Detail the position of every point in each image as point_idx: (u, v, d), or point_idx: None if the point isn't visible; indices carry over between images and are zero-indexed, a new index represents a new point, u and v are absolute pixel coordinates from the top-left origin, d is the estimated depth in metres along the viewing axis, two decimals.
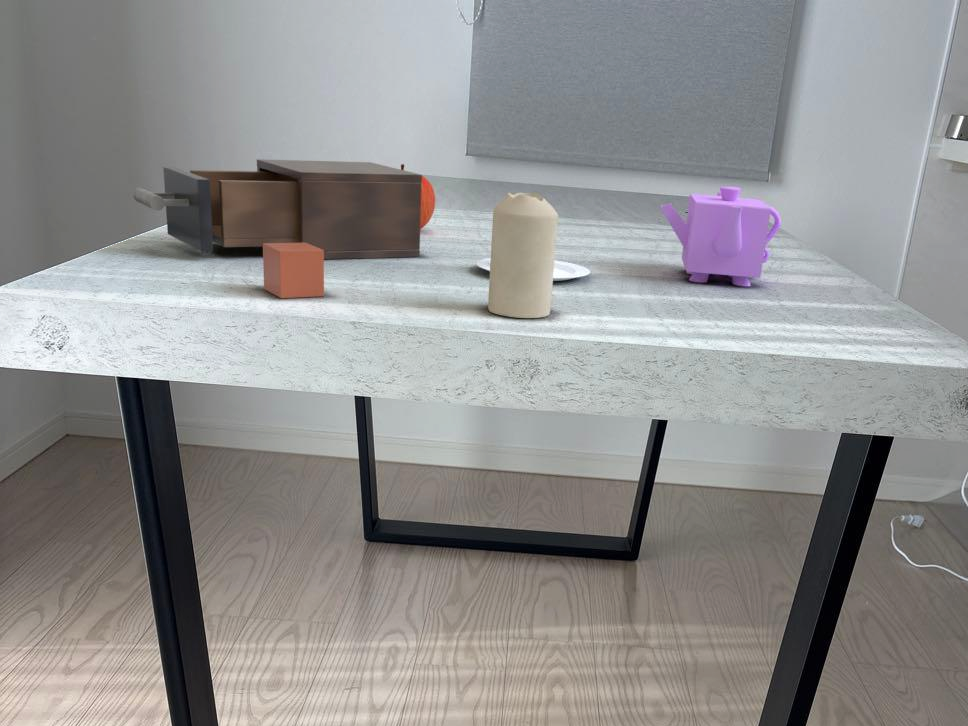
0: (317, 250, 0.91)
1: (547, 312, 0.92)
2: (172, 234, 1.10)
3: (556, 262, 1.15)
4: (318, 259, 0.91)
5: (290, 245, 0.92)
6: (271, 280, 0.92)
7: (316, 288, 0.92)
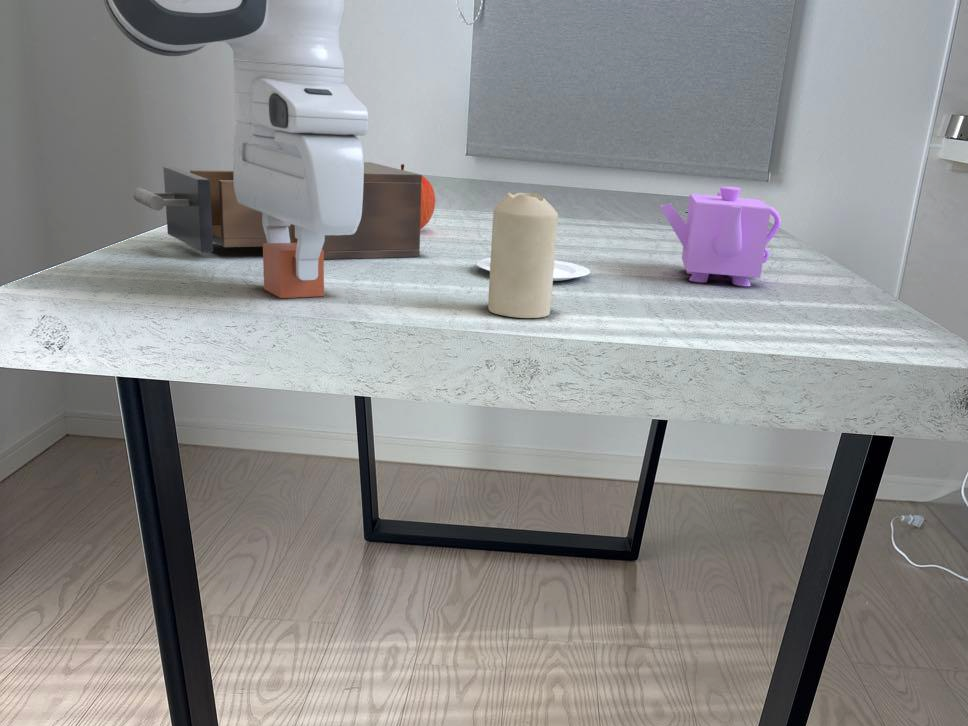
0: None
1: (547, 312, 0.92)
2: (172, 234, 1.10)
3: (556, 262, 1.15)
4: (318, 259, 0.91)
5: (290, 245, 0.92)
6: (271, 280, 0.92)
7: (316, 288, 0.92)
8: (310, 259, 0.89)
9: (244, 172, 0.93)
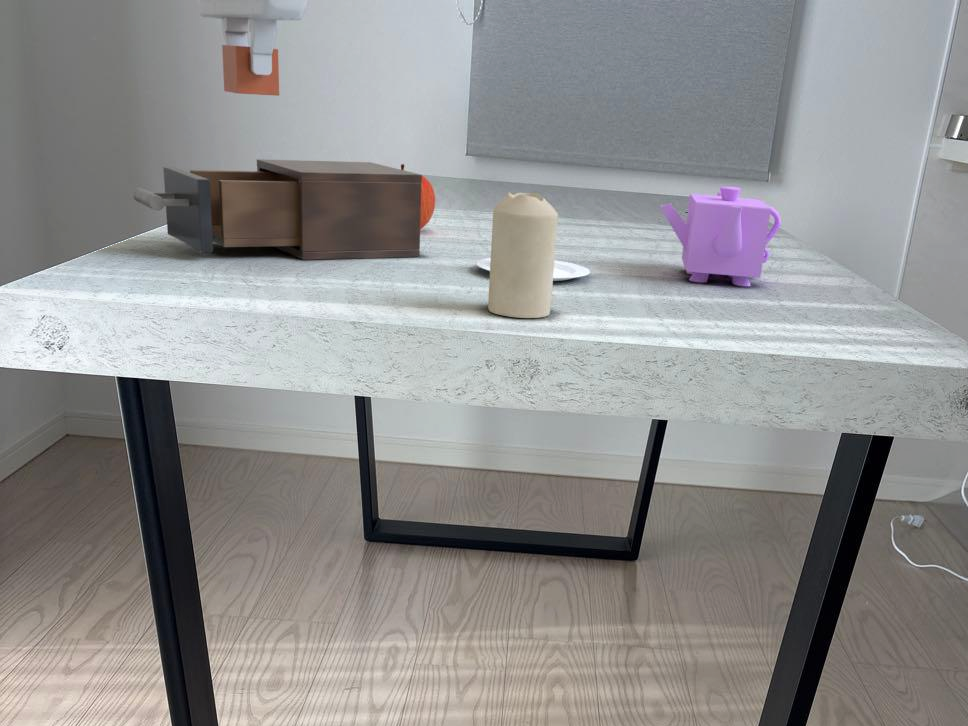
0: None
1: (547, 312, 0.92)
2: (172, 234, 1.10)
3: (556, 262, 1.15)
4: (273, 58, 0.98)
5: None
6: (230, 78, 0.99)
7: (271, 87, 0.99)
8: (264, 54, 0.96)
9: None
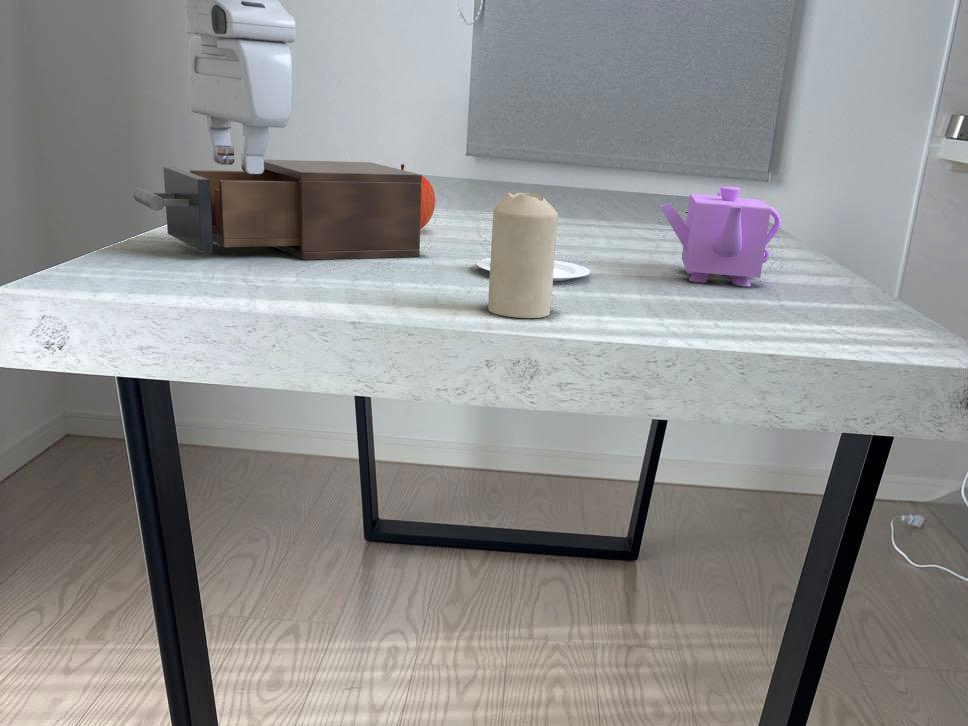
0: None
1: (547, 312, 0.92)
2: (172, 234, 1.10)
3: (556, 262, 1.15)
4: None
5: None
6: None
7: None
8: (256, 155, 1.04)
9: (196, 82, 1.09)
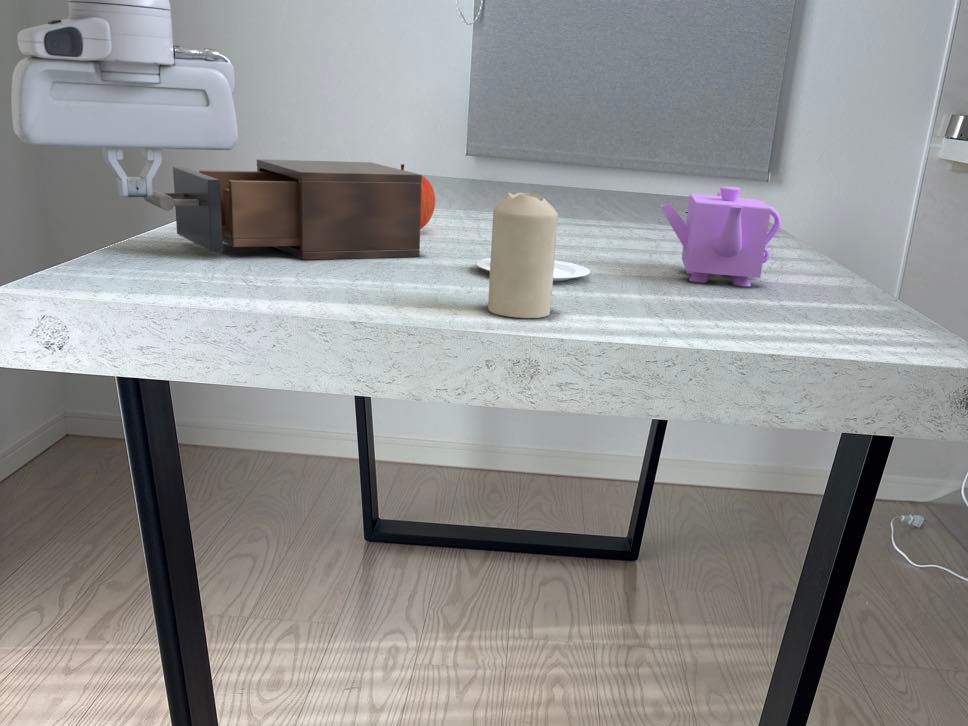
0: None
1: (547, 312, 0.92)
2: (181, 234, 1.11)
3: (556, 262, 1.15)
4: None
5: None
6: None
7: None
8: (118, 178, 1.02)
9: None
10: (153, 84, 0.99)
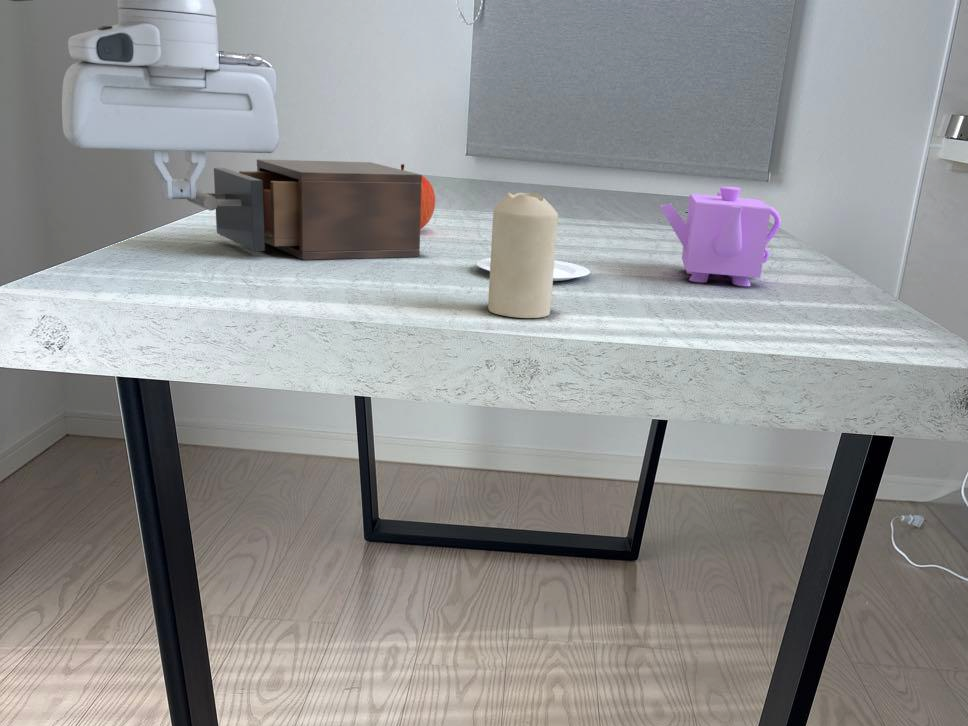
0: None
1: (547, 312, 0.92)
2: (222, 233, 1.13)
3: (556, 262, 1.15)
4: None
5: None
6: (270, 219, 1.12)
7: None
8: (164, 180, 1.04)
9: None
10: (199, 89, 1.02)
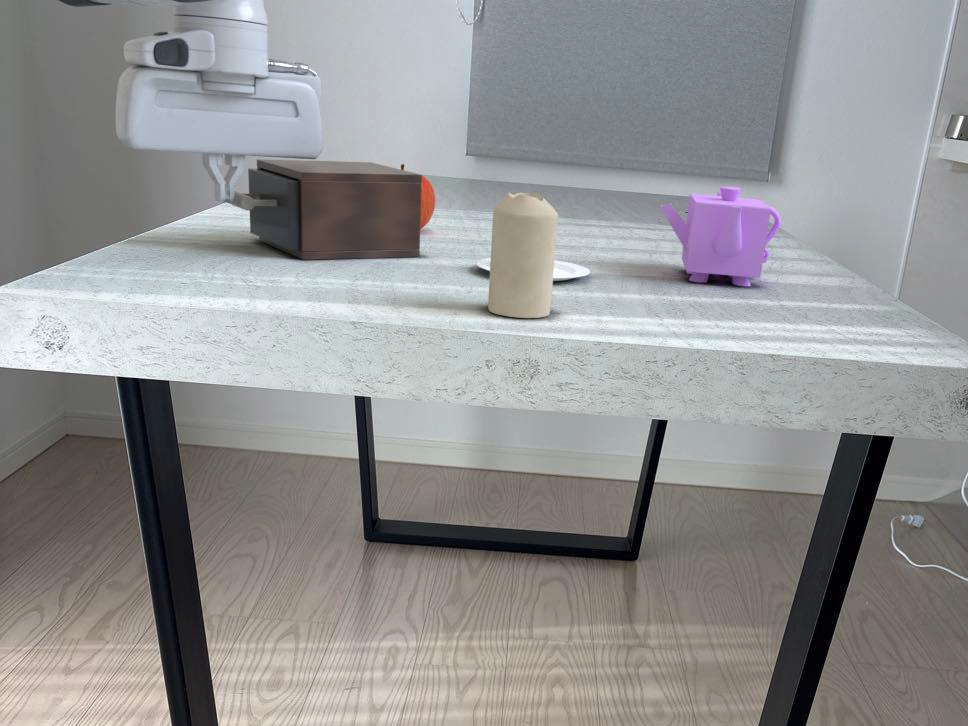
0: None
1: (547, 312, 0.92)
2: (256, 233, 1.15)
3: (556, 262, 1.15)
4: None
5: None
6: None
7: None
8: (217, 183, 1.07)
9: None
10: (248, 95, 1.04)
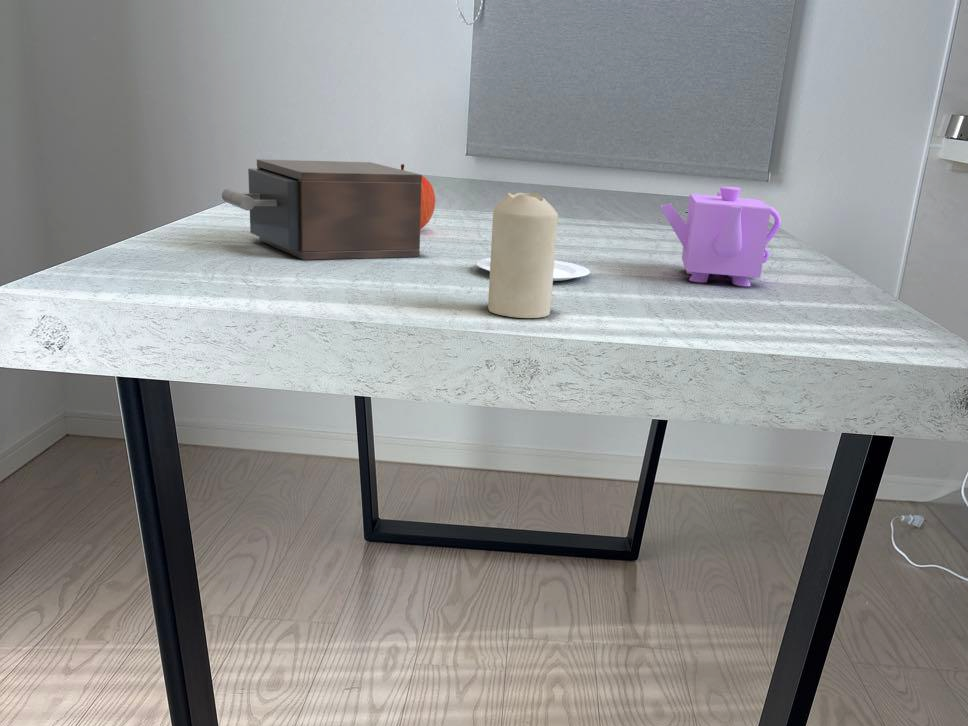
0: None
1: (547, 312, 0.92)
2: (256, 233, 1.15)
3: (556, 262, 1.15)
4: None
5: None
6: None
7: None
8: None
9: None
10: None
